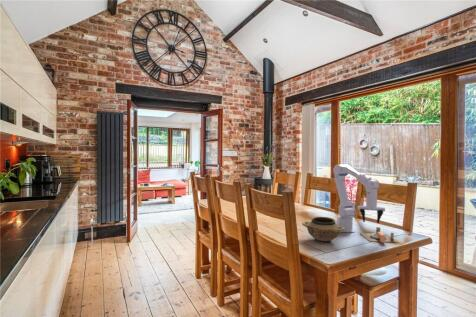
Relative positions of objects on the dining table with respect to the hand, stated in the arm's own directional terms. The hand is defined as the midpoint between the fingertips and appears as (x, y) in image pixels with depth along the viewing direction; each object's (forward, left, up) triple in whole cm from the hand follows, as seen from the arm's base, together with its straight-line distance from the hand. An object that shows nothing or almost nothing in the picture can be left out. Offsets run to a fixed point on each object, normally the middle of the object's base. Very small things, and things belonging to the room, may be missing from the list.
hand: (370, 222), depth 164 cm
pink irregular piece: (+5, 0, -10) cm, 11 cm away
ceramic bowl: (-30, -6, -11) cm, 32 cm away
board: (+6, +3, -10) cm, 12 cm away
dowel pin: (+12, 0, -10) cm, 16 cm away
